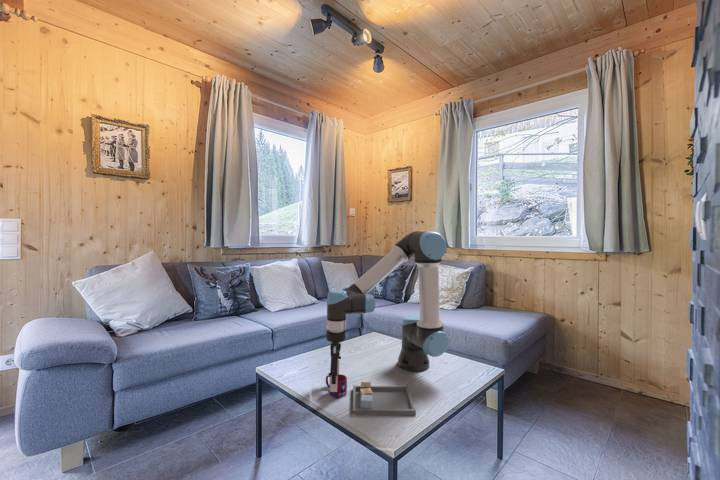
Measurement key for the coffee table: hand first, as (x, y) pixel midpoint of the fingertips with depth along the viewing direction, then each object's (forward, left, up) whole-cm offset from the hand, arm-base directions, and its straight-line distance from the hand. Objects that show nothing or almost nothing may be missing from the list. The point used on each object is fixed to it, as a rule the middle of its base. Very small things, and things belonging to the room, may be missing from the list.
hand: (334, 383), depth 130 cm
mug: (0, 0, -5) cm, 5 cm away
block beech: (-12, +7, -4) cm, 15 cm away
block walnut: (-12, +2, -4) cm, 13 cm away
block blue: (-12, +12, -4) cm, 18 cm away
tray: (-18, +7, -4) cm, 20 cm away
